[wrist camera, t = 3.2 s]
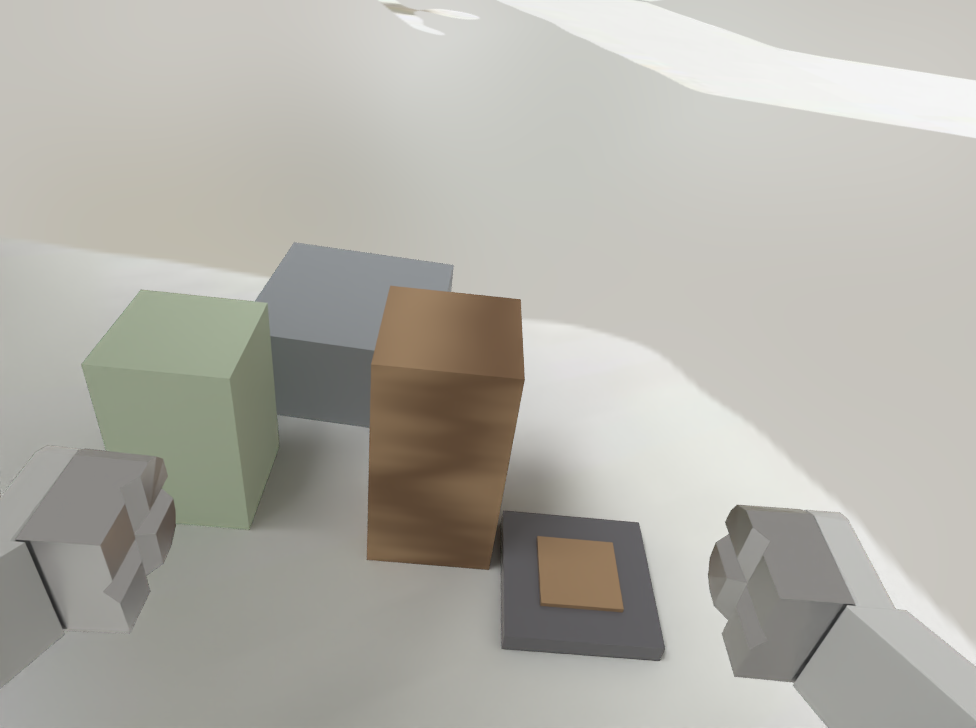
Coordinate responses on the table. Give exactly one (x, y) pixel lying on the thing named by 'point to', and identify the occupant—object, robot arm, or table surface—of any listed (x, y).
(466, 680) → the table surface
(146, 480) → the robot arm
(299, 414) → the slate base block
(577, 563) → the card
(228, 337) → the sage green block
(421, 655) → the table surface
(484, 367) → the walnut block
